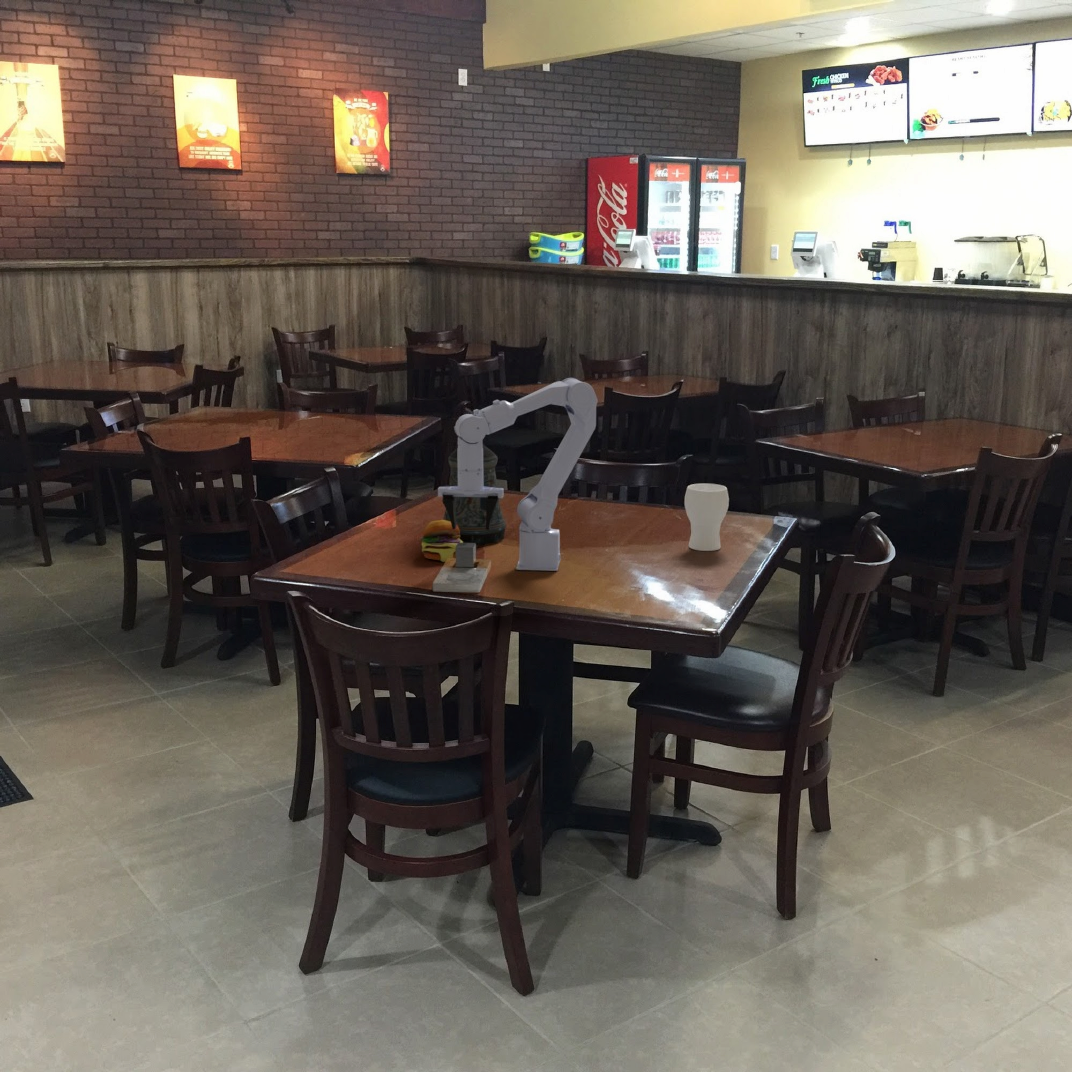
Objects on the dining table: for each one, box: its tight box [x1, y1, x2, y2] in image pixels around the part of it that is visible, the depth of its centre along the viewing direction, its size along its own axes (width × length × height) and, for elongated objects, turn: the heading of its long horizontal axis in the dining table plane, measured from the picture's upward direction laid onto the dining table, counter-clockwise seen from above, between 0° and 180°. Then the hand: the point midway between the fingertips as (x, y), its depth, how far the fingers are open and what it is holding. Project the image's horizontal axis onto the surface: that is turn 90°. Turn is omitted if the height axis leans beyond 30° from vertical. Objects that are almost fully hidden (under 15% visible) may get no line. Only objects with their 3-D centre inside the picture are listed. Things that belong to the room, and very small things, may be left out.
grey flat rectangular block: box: [432, 558, 492, 594], centre depth 250 cm, size 10×20×2 cm, turn 175°
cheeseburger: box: [420, 519, 463, 563], centre depth 267 cm, size 10×11×10 cm
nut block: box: [455, 543, 477, 568], centre depth 254 cm, size 4×4×6 cm
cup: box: [684, 483, 730, 552], centre depth 275 cm, size 11×11×15 cm
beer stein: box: [442, 442, 507, 546], centre depth 284 cm, size 16×19×25 cm
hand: (471, 528), depth 254 cm, fingers open, 7 cm apart
